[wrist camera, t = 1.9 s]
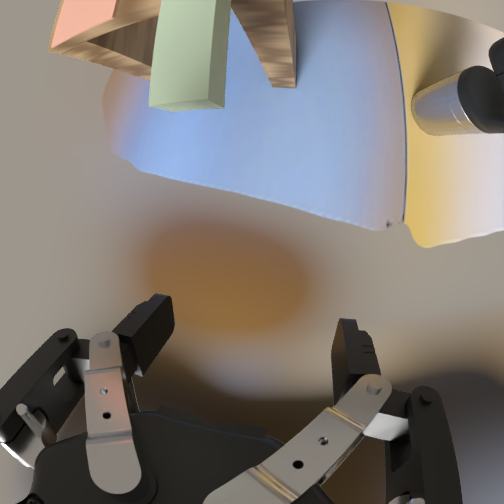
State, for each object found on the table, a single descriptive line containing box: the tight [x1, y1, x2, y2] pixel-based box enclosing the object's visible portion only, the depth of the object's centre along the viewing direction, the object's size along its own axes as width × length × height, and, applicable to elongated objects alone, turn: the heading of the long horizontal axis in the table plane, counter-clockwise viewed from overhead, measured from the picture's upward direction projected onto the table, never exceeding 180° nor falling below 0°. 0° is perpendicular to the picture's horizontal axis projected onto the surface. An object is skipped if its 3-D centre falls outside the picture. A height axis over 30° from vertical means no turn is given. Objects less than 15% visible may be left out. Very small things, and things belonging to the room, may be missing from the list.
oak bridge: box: [47, 0, 296, 88], centre depth 26 cm, size 22×10×32 cm, turn 88°
